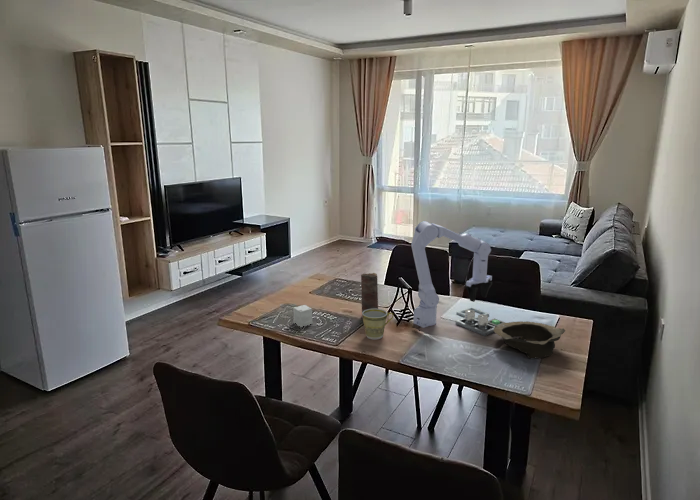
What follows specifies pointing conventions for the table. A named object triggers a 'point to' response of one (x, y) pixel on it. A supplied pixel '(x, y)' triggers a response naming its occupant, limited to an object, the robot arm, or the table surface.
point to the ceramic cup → (375, 322)
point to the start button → (496, 322)
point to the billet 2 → (482, 322)
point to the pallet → (475, 327)
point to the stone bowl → (530, 337)
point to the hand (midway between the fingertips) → (478, 299)
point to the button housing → (494, 324)
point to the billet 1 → (469, 317)
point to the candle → (369, 291)
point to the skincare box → (302, 315)
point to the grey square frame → (471, 309)
